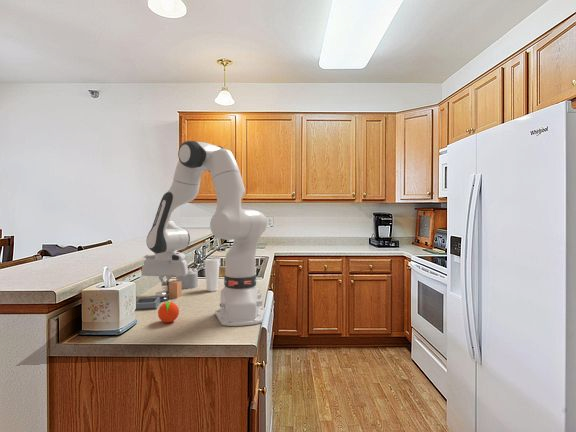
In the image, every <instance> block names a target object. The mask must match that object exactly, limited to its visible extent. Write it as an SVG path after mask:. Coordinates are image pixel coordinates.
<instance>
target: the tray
mask: <svg viewBox="0 0 576 432" xmlns="http://www.w3.org/2000/svg"><path fill="white" fill-rule="evenodd" d="M135 300H136V310H135V311H143V310H144V311H146V310H149V311H150V310H157V308H158V307H160V304H161V302H160V297H156V296H153V297H150V296H149V297H137V298H135Z"/></svg>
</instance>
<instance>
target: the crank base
mask: <svg viewBox="0 0 576 432" xmlns="http://www.w3.org/2000/svg"><path fill="white" fill-rule="evenodd" d="M165 302H169V295H166V297H164V298H160V303H165Z"/></svg>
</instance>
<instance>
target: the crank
mask: <svg viewBox="0 0 576 432" xmlns="http://www.w3.org/2000/svg"><path fill="white" fill-rule="evenodd" d="M171 281H172V280H169V281H168V282H167V286H166V289H164V290H162V291H157V292H155V297H160V298H164V297H166V296H169V282H171Z"/></svg>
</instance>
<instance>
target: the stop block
mask: <svg viewBox="0 0 576 432" xmlns="http://www.w3.org/2000/svg"><path fill="white" fill-rule="evenodd" d="M170 281H171V282H169V281H168V282H169V294H168V299H179V298H181V297H182V295H183V293H182V290H183V289H182V285H181V281H176V279H175V280H170Z"/></svg>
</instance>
